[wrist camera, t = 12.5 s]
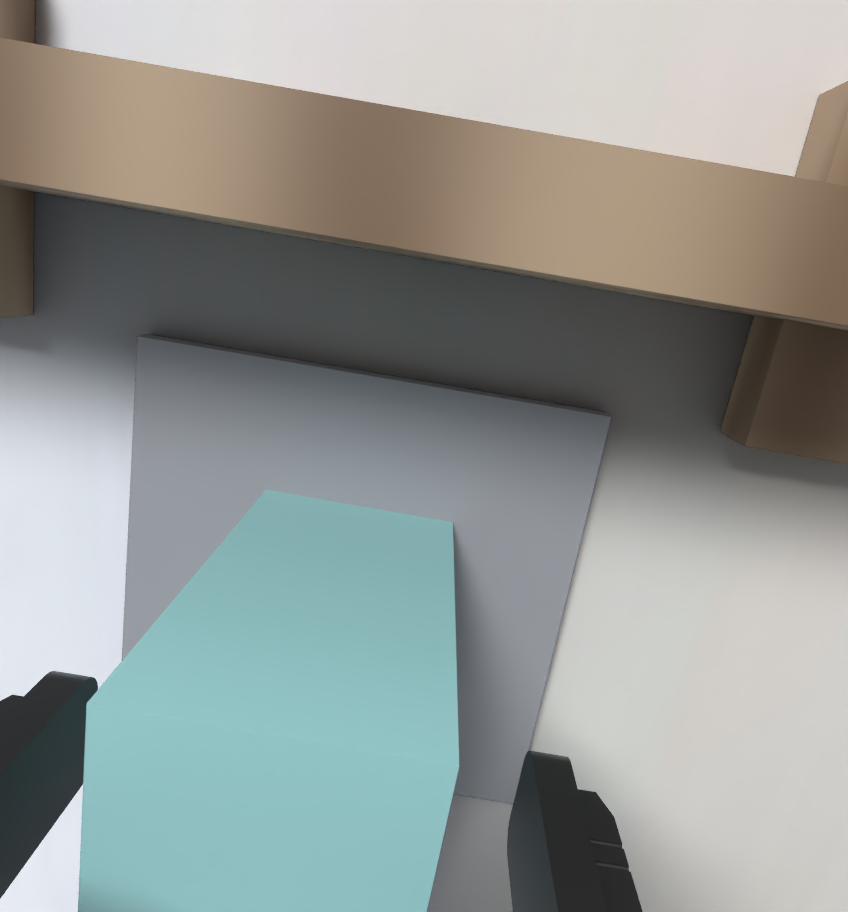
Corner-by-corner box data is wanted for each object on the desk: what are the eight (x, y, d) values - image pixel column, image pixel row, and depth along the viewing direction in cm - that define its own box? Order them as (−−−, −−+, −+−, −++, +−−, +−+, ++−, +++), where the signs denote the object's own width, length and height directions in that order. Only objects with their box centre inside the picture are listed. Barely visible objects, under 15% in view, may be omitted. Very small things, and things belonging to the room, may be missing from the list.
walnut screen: (990, 125, 15) (1326, 32, 9) (870, 457, 17) (1083, 549, 11) (-143, -75, 15) (-520, -299, 9) (-123, 288, 17) (-417, 295, 11)
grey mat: (605, 412, 17) (611, 416, 17) (513, 789, 20) (515, 804, 20) (147, 334, 17) (137, 336, 16) (127, 726, 20) (118, 739, 20)
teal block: (452, 522, 17) (459, 766, 9) (420, 684, 19) (399, 1035, 10) (265, 489, 17) (85, 703, 9) (246, 654, 19) (75, 982, 10)
